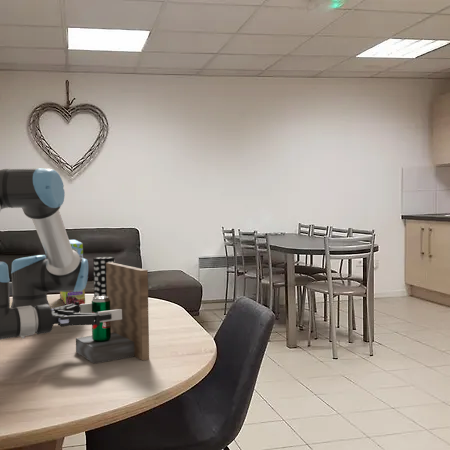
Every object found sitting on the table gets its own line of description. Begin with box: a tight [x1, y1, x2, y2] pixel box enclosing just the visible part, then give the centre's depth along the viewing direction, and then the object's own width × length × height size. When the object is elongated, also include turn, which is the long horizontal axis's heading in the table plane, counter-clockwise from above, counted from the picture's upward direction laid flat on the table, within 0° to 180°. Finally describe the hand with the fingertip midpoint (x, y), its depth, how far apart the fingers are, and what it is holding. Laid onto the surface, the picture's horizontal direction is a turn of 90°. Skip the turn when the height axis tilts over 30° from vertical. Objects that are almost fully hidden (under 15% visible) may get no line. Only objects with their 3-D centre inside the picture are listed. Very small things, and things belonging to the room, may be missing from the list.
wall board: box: [75, 262, 150, 364], centre depth 157 cm, size 24×14×24 cm, turn 34°
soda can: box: [91, 296, 111, 342], centre depth 157 cm, size 5×5×12 cm
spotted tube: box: [92, 256, 116, 297], centre depth 225 cm, size 8×8×20 cm
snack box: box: [59, 239, 86, 306], centre depth 241 cm, size 22×9×26 cm, turn 23°
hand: (111, 310), depth 158 cm, fingers open, 13 cm apart
